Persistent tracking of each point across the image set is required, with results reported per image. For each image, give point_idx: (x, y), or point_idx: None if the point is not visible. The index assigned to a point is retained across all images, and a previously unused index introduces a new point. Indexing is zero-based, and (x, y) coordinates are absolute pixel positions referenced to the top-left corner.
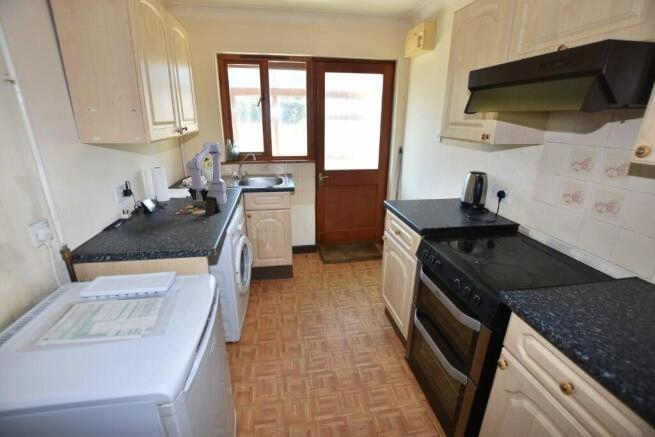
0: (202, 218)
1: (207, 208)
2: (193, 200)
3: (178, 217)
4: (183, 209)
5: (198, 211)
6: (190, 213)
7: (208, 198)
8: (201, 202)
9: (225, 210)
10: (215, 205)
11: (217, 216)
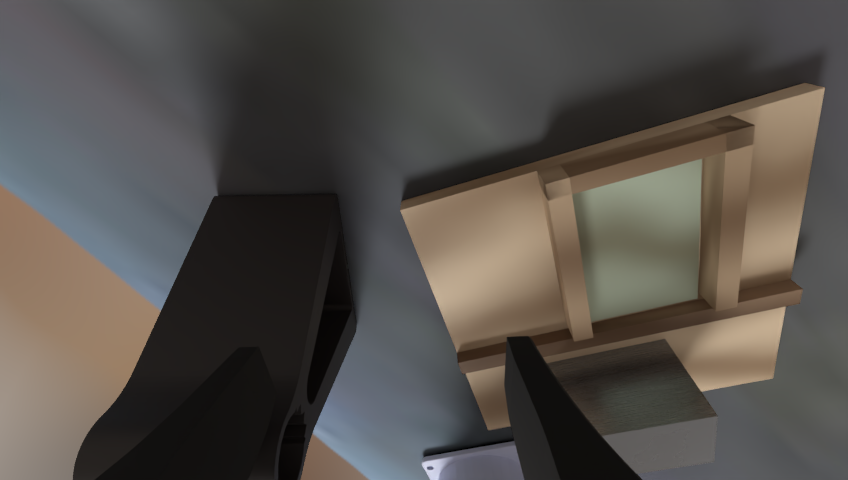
0: (287, 112)
1: (281, 280)
2: (712, 432)
3: (675, 3)
4: (734, 219)
5: (514, 270)
6: (555, 168)
7: None
8: None
9: None
10: None
11: None
